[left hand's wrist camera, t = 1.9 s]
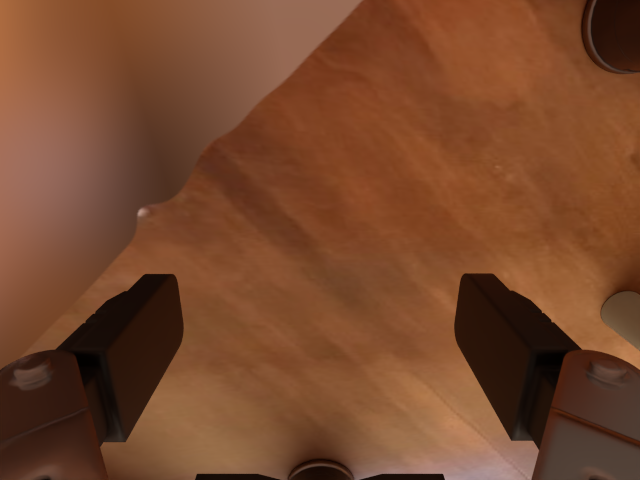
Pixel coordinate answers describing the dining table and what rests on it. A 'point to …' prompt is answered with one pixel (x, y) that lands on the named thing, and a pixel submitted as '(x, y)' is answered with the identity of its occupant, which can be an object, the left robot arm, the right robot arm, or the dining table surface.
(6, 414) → the left robot arm
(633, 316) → the bottle
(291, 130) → the dining table surface
